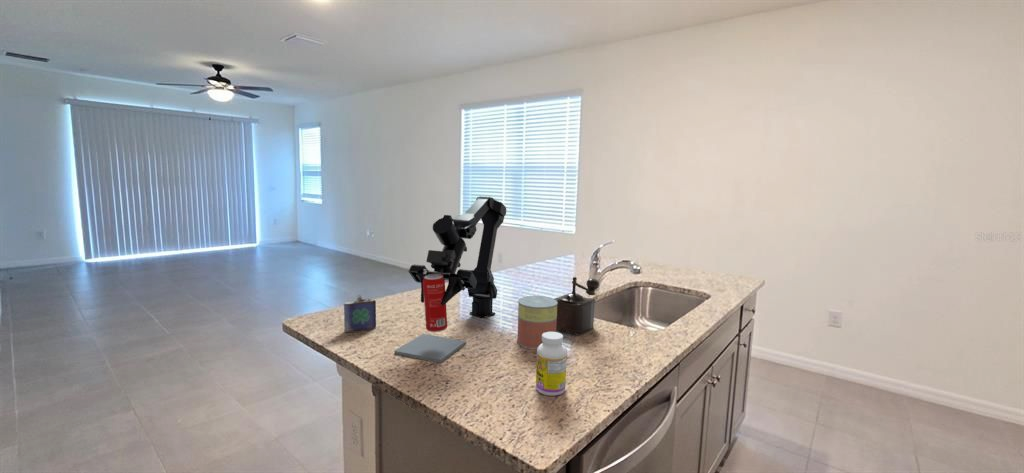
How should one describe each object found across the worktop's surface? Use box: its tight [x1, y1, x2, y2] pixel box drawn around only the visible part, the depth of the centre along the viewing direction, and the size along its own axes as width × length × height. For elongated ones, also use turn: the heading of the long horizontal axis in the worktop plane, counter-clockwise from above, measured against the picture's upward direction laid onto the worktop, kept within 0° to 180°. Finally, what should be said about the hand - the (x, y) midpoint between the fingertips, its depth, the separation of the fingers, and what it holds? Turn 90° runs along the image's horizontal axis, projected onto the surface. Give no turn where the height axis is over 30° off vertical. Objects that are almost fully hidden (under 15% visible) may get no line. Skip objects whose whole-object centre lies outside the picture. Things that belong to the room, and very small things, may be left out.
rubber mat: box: [394, 333, 467, 364], centre depth 122 cm, size 14×14×1 cm
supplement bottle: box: [535, 331, 568, 397], centre depth 99 cm, size 7×7×13 cm
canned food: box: [516, 295, 558, 350], centre depth 128 cm, size 11×11×12 cm
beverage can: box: [423, 274, 448, 333], centre depth 120 cm, size 6×6×15 cm
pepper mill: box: [554, 276, 600, 336], centre depth 138 cm, size 16×11×18 cm
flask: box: [343, 294, 377, 334], centre depth 134 cm, size 9×3×11 cm, turn 121°
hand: (432, 303), depth 118 cm, fingers closed on beverage can, 6 cm apart
